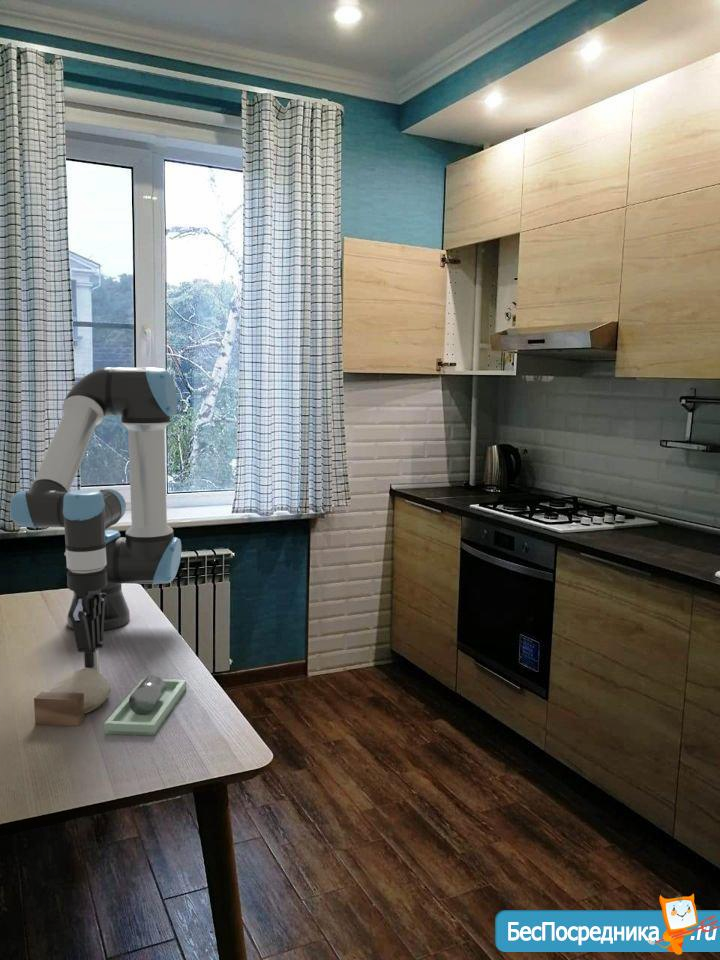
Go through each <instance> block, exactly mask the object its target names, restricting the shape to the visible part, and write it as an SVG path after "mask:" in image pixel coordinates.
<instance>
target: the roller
mask: <svg viewBox="0 0 720 960" xmlns="http://www.w3.org/2000/svg"><path fill="white" fill-rule="evenodd" d="M144 679H145V680H144V681H143V682H142V683H141V684H140V685H139V687H138V688H137V689H136V690H135V691H134V693H133V694H132V695H131V696H130V699H129V706H130V708H131V710H132V711H133V712H135V713H136V714H139V715H146V714H149V713H150V712H151V711H152V710H153V708H154V707H155V706H156V704H157V703H158V702H159V700H160V699H161V698H162V696H163V695H164V694H165V691H166V685H165V683H164V681H163V680H162V679H163V678H161V677H159V676H156V675H149V676H147V677H145V678H144Z"/></svg>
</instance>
